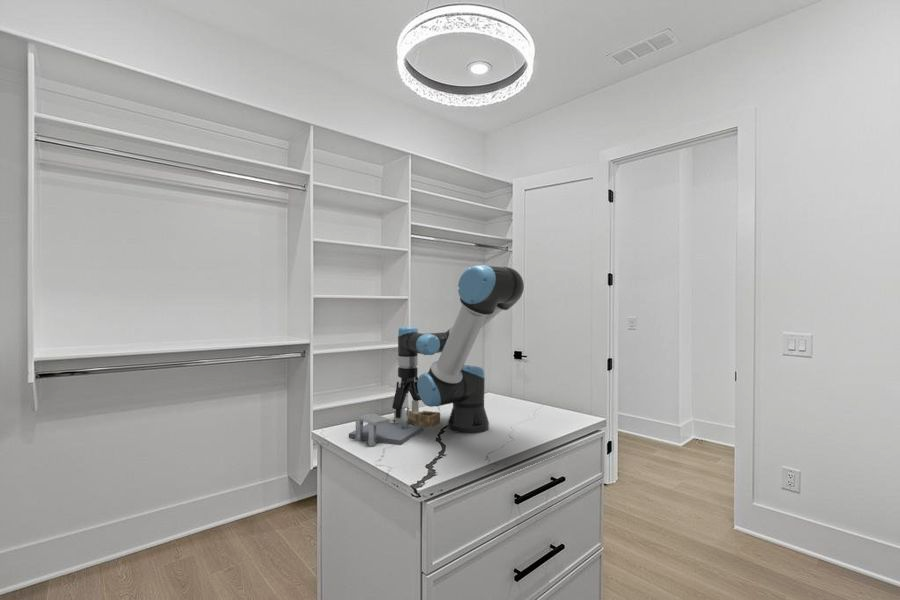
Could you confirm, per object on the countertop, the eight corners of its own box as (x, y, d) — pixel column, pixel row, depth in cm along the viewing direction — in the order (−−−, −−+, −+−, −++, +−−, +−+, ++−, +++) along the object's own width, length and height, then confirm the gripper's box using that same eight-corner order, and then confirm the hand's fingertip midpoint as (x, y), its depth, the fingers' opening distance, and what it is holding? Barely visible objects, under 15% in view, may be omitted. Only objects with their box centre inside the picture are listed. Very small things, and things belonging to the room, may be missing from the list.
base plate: (422, 430, 160) (422, 426, 160) (401, 444, 144) (401, 440, 144) (374, 424, 167) (374, 420, 167) (348, 437, 151) (348, 433, 151)
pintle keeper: (409, 431, 158) (409, 407, 158) (383, 447, 141) (383, 421, 141) (378, 427, 163) (378, 404, 163) (349, 443, 146) (349, 417, 146)
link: (440, 422, 170) (440, 412, 170) (432, 427, 163) (432, 416, 163) (400, 418, 176) (400, 408, 176) (392, 423, 169) (392, 412, 169)
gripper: (413, 361, 184) (412, 412, 184) (383, 371, 161) (382, 429, 161) (429, 362, 181) (429, 414, 181) (401, 372, 158) (401, 431, 158)
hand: (407, 421), depth 171 cm, fingers open, 13 cm apart
